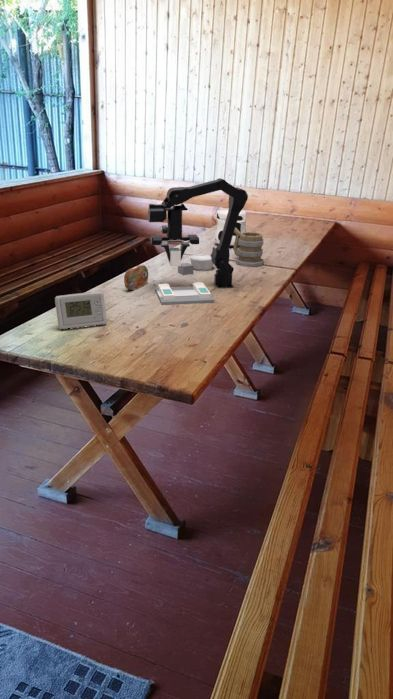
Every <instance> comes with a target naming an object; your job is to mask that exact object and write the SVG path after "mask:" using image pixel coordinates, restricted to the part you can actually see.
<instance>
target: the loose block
mask: <svg viewBox="0 0 393 699" xmlns="http://www.w3.org/2000/svg"><path fill="white" fill-rule="evenodd" d="M177 273H178V274H180V275H182V276H190V275H194V269H193V265H191V263H189V262H184V263H182V262H181V266H177ZM189 274H190V275H189Z"/></svg>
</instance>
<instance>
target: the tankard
mask: <svg viewBox="0 0 393 699" xmlns="http://www.w3.org/2000/svg"><path fill="white" fill-rule="evenodd" d="M234 233H236V238H235V243H234V247H233V252H234V255H235V256H237V258H236V260H235V264H236V265H239V266H241V267H247V268H248V267H250V268H256V267H260V266H263V264H264V259H263V258H262V256H263V253H264V252H263V251H264V249H263V248H262V247H263V245H264V239H263V233H260V232H256V231H255V232H254V231H246V232H243V233H241V232H240V231H238V229H237V228H235V230H234ZM238 245H240V246H238Z"/></svg>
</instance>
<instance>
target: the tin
mask: <svg viewBox="0 0 393 699" xmlns="http://www.w3.org/2000/svg"><path fill="white" fill-rule="evenodd" d="M148 279H149V270H148V267H147V266H146V265H143V264H141V265H136V266H134V267H132V268H128V269H127V270H126V272H125V273H124V277H123V281H124V283H123V284H124V287H125V289H127V290H129V291H136V290H137V289H138V290H139V289H140V288H142V287H144V286H146V284H147V283H148Z"/></svg>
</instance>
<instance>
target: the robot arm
mask: <svg viewBox="0 0 393 699" xmlns="http://www.w3.org/2000/svg"><path fill="white" fill-rule="evenodd" d="M218 191H222V193H225V195H228V201H227V202H228V203H227V204H228V209H229V210H228V214H227V218H226V221H225V225H224V228H223V232H222V235H221V239H220V242H219V245H218V244H217V246H216V247H214V246H213V247H212V252H211V254H209V255H210V256H211V261H212V263H213V266H215V268H216V269H215V273H214V277H213V278H214V279H213V282H214V285H215V286H216V287H217V288H233V287H234V286H233V272H234V270H235V268H234V267H233V265H231V264H230V263H229V262H230V248H231V247H230V244H231V240H232V237H233V233H234V230H235V226H236V223H237V220H238V216H239V213H240V212H241V210H243V209H244V207H245V206H246V203H247V201H248V199H249V195H248V193H247V190H245V189H242V188H241V187H239V186H238V187H235V186H234V185H232V184H230V183H229V182H228V181H226V179H225V178H224V179H223V178H219V177H218V178H216V179H215V180H210V181H207V182H203V183H198V184H195V185H191V186H177V187H175V186H174V187H171V188H169V189H168V190H167V192H166V196H165V198H164V200H162V202H161V204H154V203H149V204H148V210H147V220H148V223H164V221H166V220H167V225H164V224H163V225H162V226H161V234H162V235H166V236H165V237H162V236H161V235H160V234H152V235H151V236H150V245H152V246H160V247H161V248H163V249H164V250H165V253H166V256H167V257H166V258H167V260H168V263H169V262H170V252H169V248H170V246H169V243H180V246H179V247H180V248H179V249H180V251H181V260H183V257H184V255H185V252H186V250H187V248H188V247H190V246H191V245H200V238H199V236H198V235H197V234H187V236H183V211H188V208H187V207H186V205H185V204H184V203H185V202H187V201H189V200H190V199H193V198H196V197H199V196H202V195H207V194H211V193H215V192H218ZM190 244H191V245H190Z"/></svg>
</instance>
